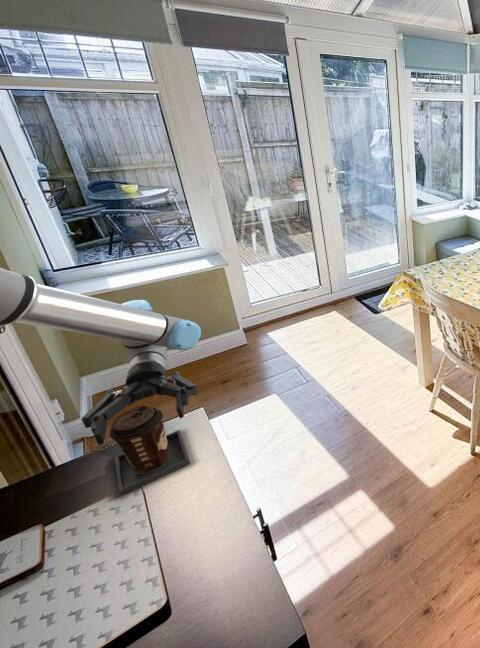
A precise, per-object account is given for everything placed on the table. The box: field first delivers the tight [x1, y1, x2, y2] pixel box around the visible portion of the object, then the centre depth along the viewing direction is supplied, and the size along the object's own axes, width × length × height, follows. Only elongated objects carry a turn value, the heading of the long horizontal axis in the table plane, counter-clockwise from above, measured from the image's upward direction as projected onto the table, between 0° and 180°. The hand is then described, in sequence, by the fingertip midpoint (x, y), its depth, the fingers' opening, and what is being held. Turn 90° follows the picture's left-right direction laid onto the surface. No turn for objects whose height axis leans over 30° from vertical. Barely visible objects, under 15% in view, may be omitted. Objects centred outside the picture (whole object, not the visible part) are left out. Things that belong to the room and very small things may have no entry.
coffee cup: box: [109, 405, 170, 474], centre depth 89 cm, size 9×8×13 cm
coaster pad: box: [113, 429, 191, 497], centre depth 91 cm, size 12×12×2 cm
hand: (141, 426), depth 89 cm, fingers open, 13 cm apart
